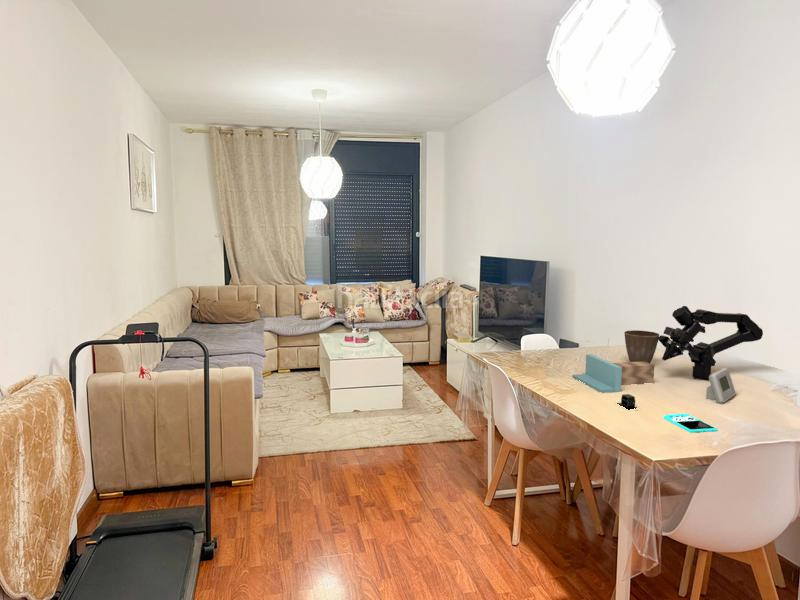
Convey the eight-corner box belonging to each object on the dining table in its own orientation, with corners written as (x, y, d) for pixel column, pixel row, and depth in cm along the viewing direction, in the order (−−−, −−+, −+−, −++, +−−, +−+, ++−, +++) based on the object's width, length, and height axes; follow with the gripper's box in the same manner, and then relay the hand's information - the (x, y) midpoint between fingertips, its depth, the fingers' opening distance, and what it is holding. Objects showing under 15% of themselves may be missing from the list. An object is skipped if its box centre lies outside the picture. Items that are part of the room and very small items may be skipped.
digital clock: (720, 405, 209) (722, 376, 208) (696, 399, 217) (698, 371, 215) (744, 398, 218) (746, 370, 216) (720, 392, 225) (722, 366, 224)
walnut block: (643, 379, 245) (644, 361, 244) (653, 383, 238) (654, 365, 237) (609, 381, 242) (609, 363, 241) (618, 385, 236) (619, 367, 235)
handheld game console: (687, 416, 198) (687, 412, 198) (719, 432, 183) (719, 428, 183) (660, 418, 197) (660, 414, 197) (690, 434, 181) (690, 430, 181)
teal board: (590, 376, 250) (591, 354, 249) (620, 391, 227) (621, 367, 225) (572, 377, 249) (573, 354, 247) (601, 392, 225) (602, 368, 224)
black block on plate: (609, 403, 214) (609, 391, 213) (626, 402, 215) (627, 390, 215) (629, 413, 202) (630, 401, 201) (647, 412, 203) (648, 399, 203)
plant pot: (648, 362, 274) (650, 330, 272) (663, 370, 259) (665, 336, 257) (617, 363, 274) (619, 330, 272) (631, 371, 259) (632, 336, 257)
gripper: (662, 316, 250) (638, 342, 249) (691, 323, 232) (665, 351, 231) (678, 334, 252) (654, 359, 252) (707, 342, 234) (681, 369, 233)
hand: (663, 359), depth 242 cm, fingers closed
